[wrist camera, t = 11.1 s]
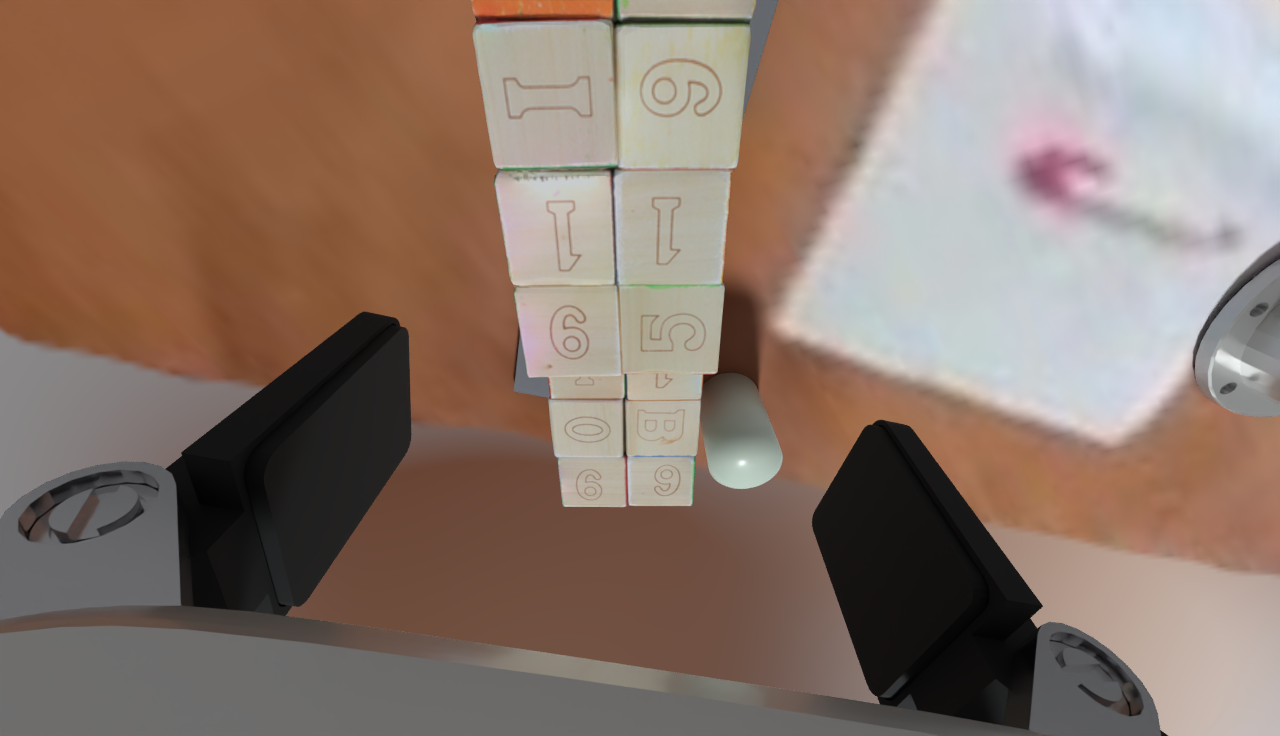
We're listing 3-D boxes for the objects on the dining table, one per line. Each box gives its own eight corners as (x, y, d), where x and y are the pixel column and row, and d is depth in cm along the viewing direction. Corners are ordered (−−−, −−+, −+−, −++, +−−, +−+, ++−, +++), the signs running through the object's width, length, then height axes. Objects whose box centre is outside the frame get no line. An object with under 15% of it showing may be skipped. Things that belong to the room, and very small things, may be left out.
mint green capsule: (767, 379, 30) (793, 440, 25) (746, 427, 32) (766, 493, 27) (707, 367, 30) (721, 427, 25) (689, 417, 32) (699, 482, 27)
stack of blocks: (678, 396, 30) (699, 566, 20) (578, 396, 30) (547, 565, 20) (703, -45, 19) (784, -195, 9) (547, -46, 19) (435, -199, 9)
